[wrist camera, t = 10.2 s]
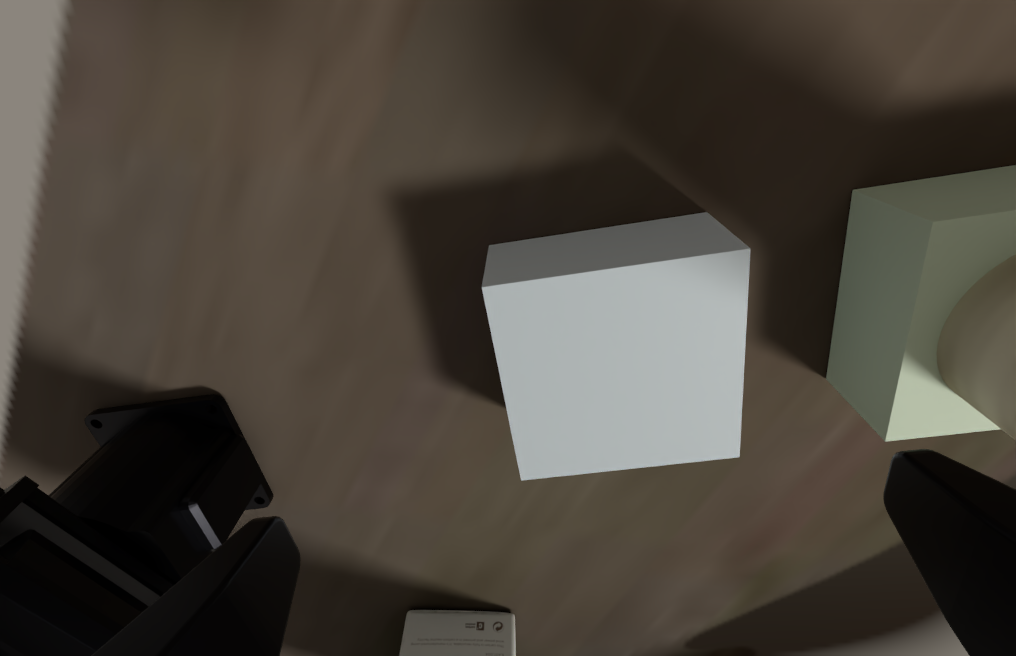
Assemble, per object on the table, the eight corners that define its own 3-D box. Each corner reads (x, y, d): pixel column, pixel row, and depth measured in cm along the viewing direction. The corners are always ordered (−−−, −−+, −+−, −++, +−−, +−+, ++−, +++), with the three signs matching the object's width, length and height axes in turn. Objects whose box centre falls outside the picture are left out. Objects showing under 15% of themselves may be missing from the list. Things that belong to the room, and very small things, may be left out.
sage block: (826, 379, 22) (885, 441, 18) (852, 189, 18) (932, 222, 15) (1031, 354, 21) (1134, 414, 17) (1102, 151, 17) (1250, 176, 14)
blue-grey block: (521, 415, 23) (520, 480, 20) (488, 245, 19) (481, 287, 16) (704, 393, 22) (739, 457, 19) (707, 212, 19) (750, 248, 15)
